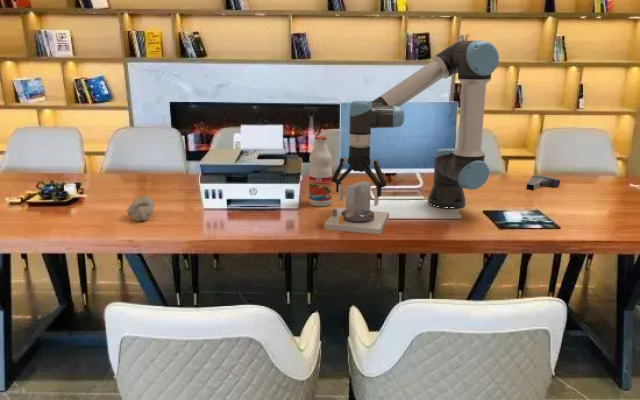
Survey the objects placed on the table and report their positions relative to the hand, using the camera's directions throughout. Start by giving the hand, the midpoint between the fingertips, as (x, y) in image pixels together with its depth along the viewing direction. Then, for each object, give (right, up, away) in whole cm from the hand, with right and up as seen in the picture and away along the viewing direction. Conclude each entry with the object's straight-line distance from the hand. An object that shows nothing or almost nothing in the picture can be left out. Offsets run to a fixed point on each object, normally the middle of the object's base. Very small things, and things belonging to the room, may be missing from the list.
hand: (358, 203), depth 196 cm
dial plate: (0, -7, +2) cm, 8 cm away
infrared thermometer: (+89, +6, +52) cm, 103 cm away
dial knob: (0, -5, +2) cm, 5 cm away
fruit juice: (-14, -1, +26) cm, 29 cm away
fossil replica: (-81, -6, +6) cm, 81 cm away
